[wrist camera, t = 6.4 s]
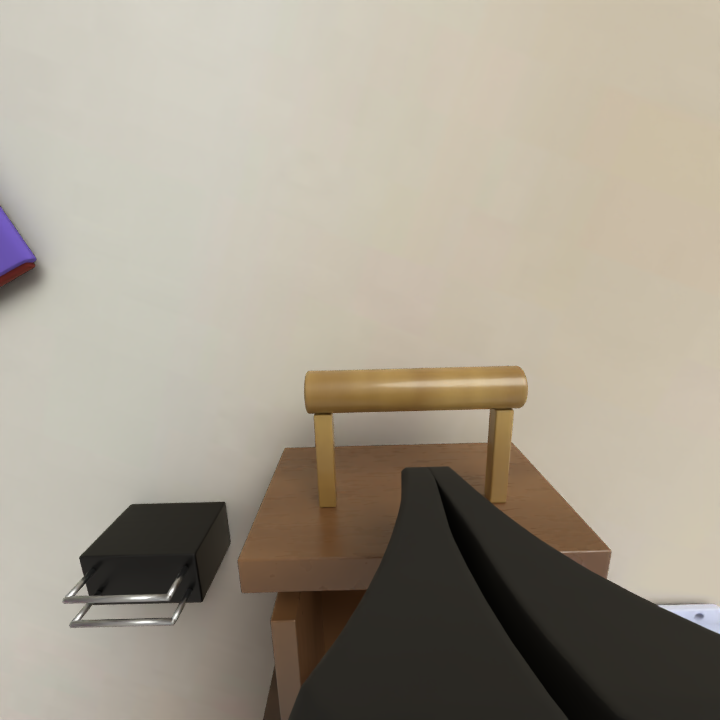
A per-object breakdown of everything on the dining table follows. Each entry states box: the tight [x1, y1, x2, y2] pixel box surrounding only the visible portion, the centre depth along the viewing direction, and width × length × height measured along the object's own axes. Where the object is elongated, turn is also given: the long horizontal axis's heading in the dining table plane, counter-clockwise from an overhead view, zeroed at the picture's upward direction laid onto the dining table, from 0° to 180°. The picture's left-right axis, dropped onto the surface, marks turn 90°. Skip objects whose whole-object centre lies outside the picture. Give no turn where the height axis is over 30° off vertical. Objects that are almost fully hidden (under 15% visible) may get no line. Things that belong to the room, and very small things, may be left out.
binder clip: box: [63, 502, 230, 628], centre depth 16 cm, size 3×5×5 cm, turn 92°
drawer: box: [238, 366, 611, 720], centre depth 14 cm, size 18×11×7 cm, turn 1°
